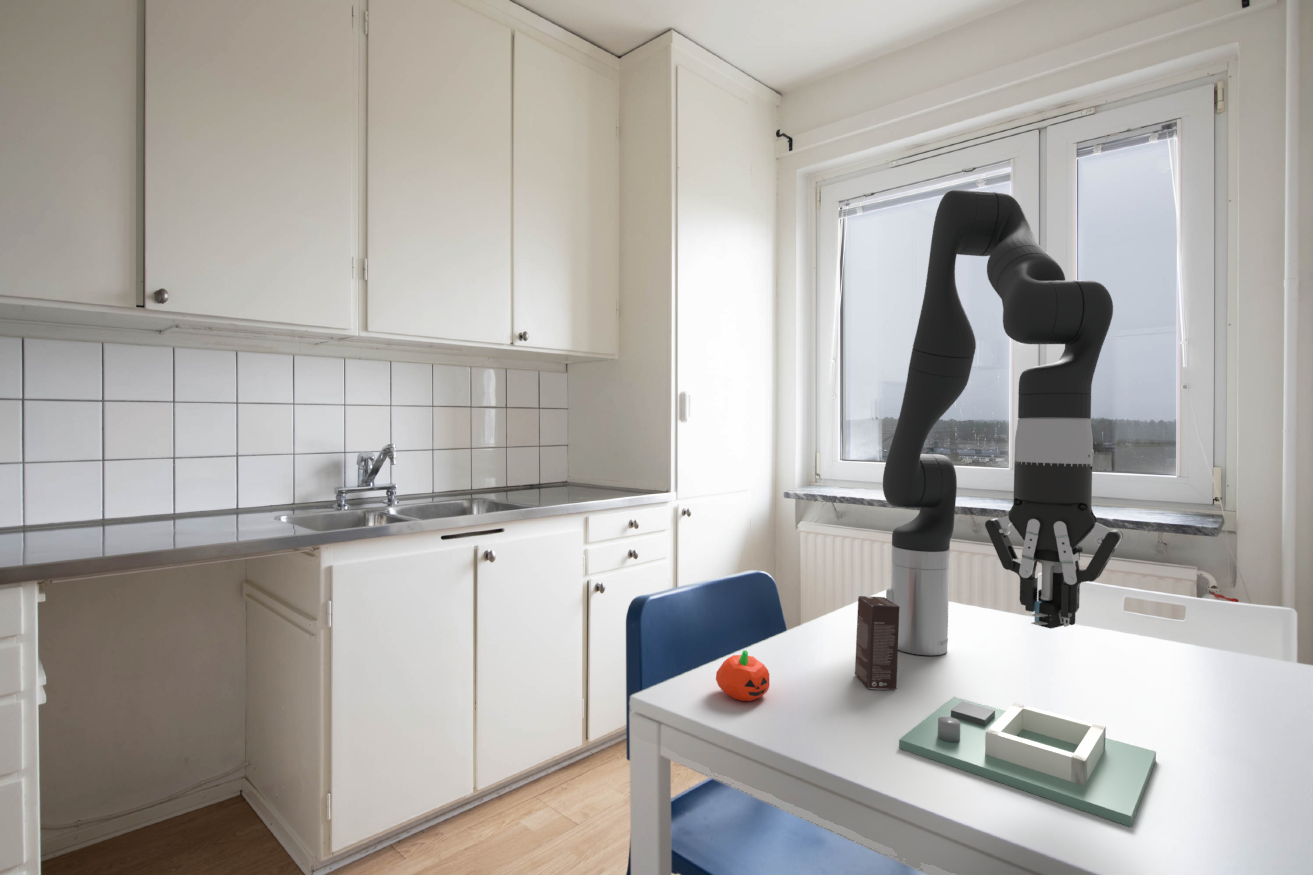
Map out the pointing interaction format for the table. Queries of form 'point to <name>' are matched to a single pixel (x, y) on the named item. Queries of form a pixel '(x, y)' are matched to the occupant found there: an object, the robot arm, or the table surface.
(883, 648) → the box
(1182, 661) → the table surface
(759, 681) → the pumpkin
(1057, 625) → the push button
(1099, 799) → the board
